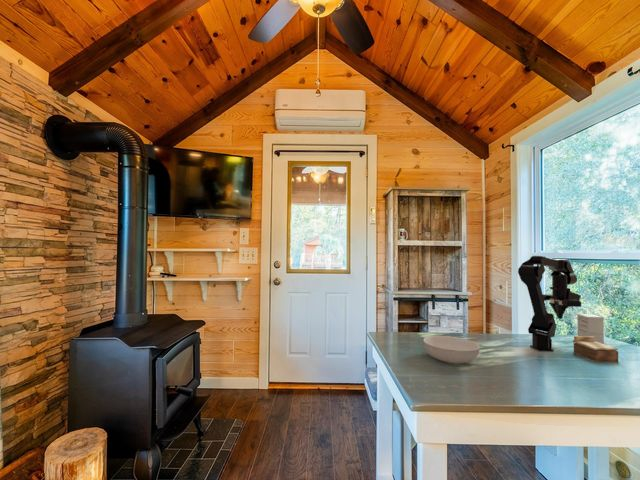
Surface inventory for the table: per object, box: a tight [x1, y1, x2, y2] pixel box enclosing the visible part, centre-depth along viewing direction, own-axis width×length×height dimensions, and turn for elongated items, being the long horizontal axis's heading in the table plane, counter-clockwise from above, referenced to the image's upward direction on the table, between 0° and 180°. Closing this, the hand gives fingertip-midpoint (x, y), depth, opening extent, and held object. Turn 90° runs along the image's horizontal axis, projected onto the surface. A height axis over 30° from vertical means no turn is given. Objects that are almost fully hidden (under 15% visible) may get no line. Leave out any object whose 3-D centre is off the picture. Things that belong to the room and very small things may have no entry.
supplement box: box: [576, 313, 605, 344], centre depth 158 cm, size 7×7×13 cm
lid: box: [572, 335, 618, 351], centre depth 134 cm, size 9×11×2 cm
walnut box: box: [573, 342, 619, 363], centre depth 133 cm, size 9×11×4 cm
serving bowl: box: [422, 335, 481, 364], centre depth 128 cm, size 21×21×7 cm
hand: (559, 318), depth 152 cm, fingers closed
